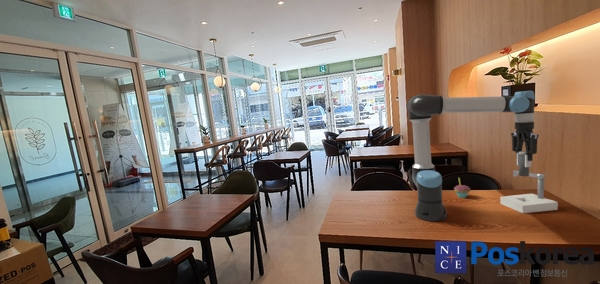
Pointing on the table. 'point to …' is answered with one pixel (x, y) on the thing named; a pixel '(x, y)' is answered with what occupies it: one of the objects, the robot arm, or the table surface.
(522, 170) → the plug
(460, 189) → the cupcake
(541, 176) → the clip
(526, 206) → the socket block
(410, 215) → the table surface
